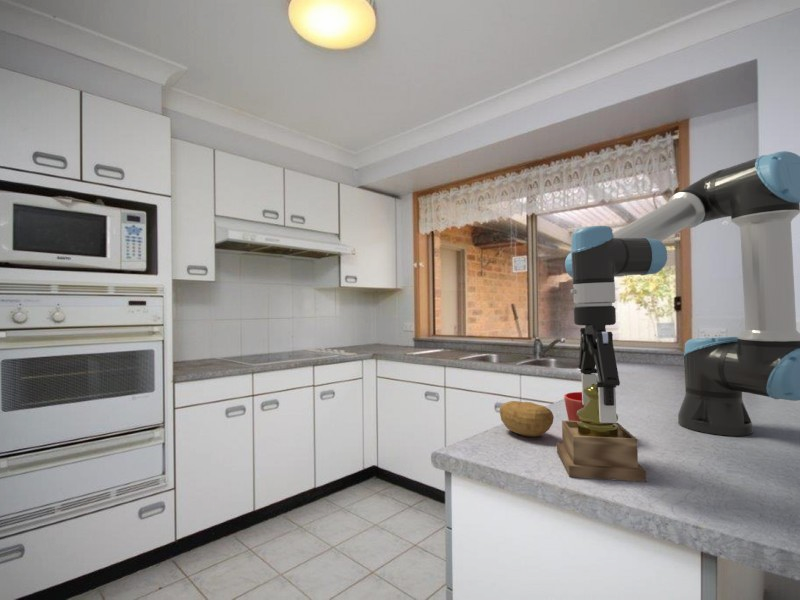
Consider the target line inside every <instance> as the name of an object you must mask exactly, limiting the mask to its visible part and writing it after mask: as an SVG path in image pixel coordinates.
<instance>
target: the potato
mask: <svg viewBox="0 0 800 600" xmlns="http://www.w3.org/2000/svg"><path fill="white" fill-rule="evenodd" d="M499 414H500V419H501V422H502V423H503V425H504V426H505V427H506V429H507V430H510V431H511V432H514V433H516V434H519V435H521V436H524V437H531V438H532V437H533V438H535V437H539V436H542V435H545V433H546V432H548V431H549V430H550V428H551V427H552V425H553V423H554V414H553V412H552V410H550V409H549V407H547V406H544V405H541V404H538V403H534V402H531V401H518V400H511V401H506V402H504V403H503V404H501V405H500V409H499Z"/></svg>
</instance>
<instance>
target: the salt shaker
mask: <svg viewBox="0 0 800 600" xmlns="http://www.w3.org/2000/svg"><path fill="white" fill-rule="evenodd" d="M596 384H597V383H596ZM596 384H592V385H591V386H587V387H585V388H584V389H583V392H584V393H585V394H586V395H587V396H588V397H589V402H588V403H587V404H586V405H584V407H583V408H581V409H579V410H578V411H577V417H578V418H579V419H580V420H579V421H578V422H577V427H578V434H580V435H581V436H592V437H613V438H617V437H618V425H616V424H615V423H601V422H600V419H599V393H598V387H596ZM616 417H617V422H618V420H619V415H618V413H617V412H616Z"/></svg>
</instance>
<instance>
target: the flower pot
mask: <svg viewBox="0 0 800 600" xmlns="http://www.w3.org/2000/svg"><path fill="white" fill-rule="evenodd" d="M563 397H564V404H565V408H566V409H565V410H566V415H567V421H579V420H580V419H579V418H578V417H577V411H578V410H579V409H581V408H583V407H584V405H583V403H582V391H576V392H575V391H574V392H567V393H565V394H564V395H563Z"/></svg>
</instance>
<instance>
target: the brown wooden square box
mask: <svg viewBox="0 0 800 600" xmlns="http://www.w3.org/2000/svg"><path fill="white" fill-rule="evenodd" d="M577 422H578V421H569V420H564V419H563V420H561V429H562V430H561V432H562V433H561V435H562V442H561V443H560V442H557V443H556V453H557V456H558V457H559V459H560V461H561V463H562V465H563V467H564V469H565V471H566V474H567V475H568V477H570V478H585V479H595V478H599V479H600V480H610V479H616V480H615V481H625V480H628V481H627V482H629V481H630V482H641V481H646V482H647V470H646V469H645V468H644V467H643V466H642V465H641V464H640V463H639V459H638V458H639V457H638V452H639V451H638V438H636V437H635V436H634V435H633V434H631V433H630V432H629V430H627V429H626V428H625V427H623V425H621V424H620V423H619V422H617V423H615V424H616V425H618V437H617V438H613V437H592V436H581V435H580V434H578V427H577ZM599 479H598V480H599Z"/></svg>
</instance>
